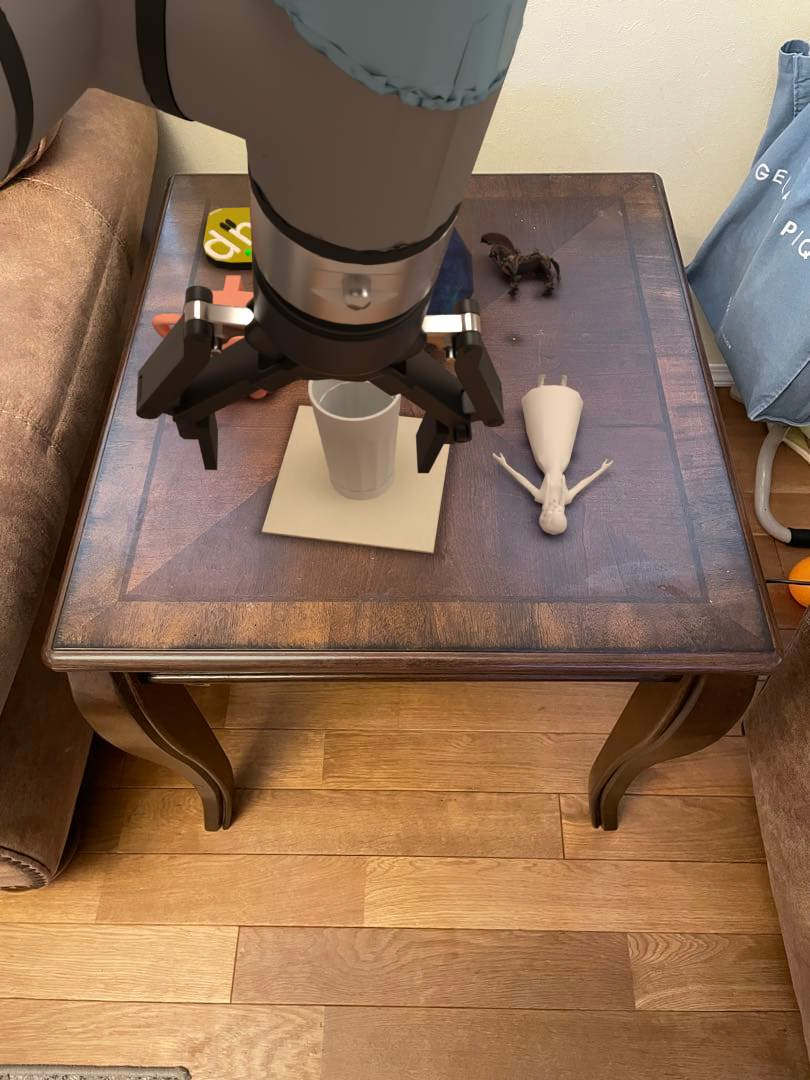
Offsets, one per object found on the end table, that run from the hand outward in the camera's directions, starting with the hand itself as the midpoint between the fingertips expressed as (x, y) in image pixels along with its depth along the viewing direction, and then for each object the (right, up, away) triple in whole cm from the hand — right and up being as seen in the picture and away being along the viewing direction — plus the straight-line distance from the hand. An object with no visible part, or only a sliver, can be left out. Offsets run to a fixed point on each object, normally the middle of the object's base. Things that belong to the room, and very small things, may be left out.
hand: (319, 452), depth 52 cm
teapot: (-13, +11, +33) cm, 38 cm away
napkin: (+1, +1, +26) cm, 26 cm away
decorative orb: (+5, +18, +38) cm, 42 cm away
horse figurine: (+20, +23, +41) cm, 51 cm away
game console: (-10, +31, +47) cm, 57 cm away
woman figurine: (+20, +2, +27) cm, 33 cm away
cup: (+1, +1, +26) cm, 26 cm away
